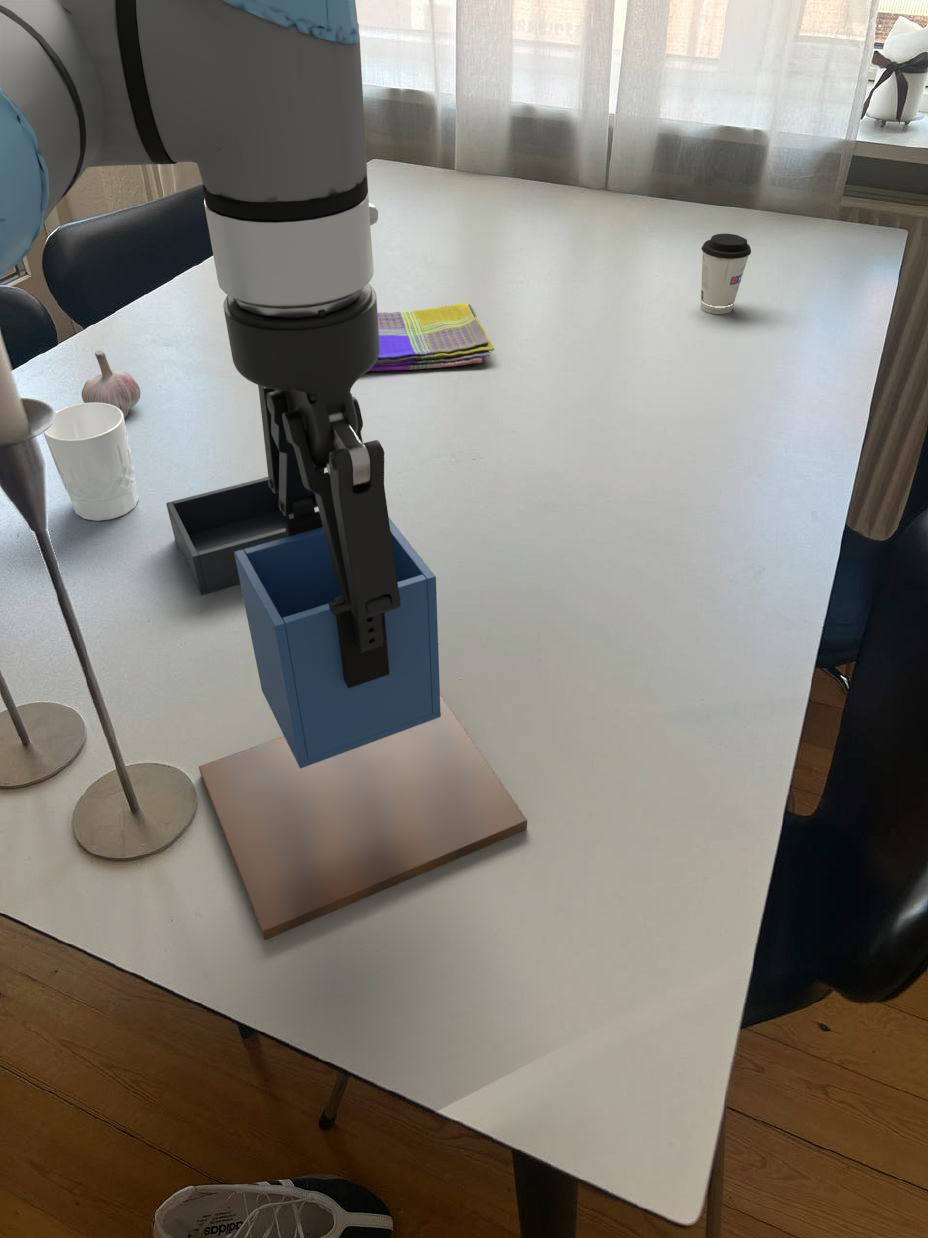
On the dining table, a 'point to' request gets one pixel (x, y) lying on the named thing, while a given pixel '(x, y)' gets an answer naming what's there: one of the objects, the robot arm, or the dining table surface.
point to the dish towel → (431, 338)
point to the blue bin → (336, 647)
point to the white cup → (94, 460)
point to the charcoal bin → (224, 529)
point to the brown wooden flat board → (354, 817)
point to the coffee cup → (722, 271)
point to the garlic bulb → (111, 387)
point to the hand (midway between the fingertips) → (341, 635)
